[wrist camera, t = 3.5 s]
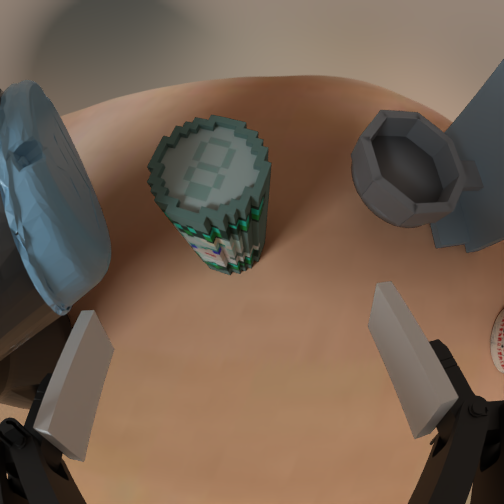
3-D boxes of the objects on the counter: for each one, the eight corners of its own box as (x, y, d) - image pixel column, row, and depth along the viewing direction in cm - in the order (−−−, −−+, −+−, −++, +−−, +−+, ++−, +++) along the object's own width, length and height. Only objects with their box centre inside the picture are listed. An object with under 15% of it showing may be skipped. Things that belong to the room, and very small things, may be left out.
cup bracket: (351, 269, 29) (580, 97, 4) (325, 143, 32) (395, -83, 7) (480, 250, 29) (653, 158, 4) (448, 145, 32) (560, 7, 7)
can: (190, 261, 29) (130, 201, 15) (212, 204, 31) (178, 108, 16) (251, 282, 29) (244, 236, 14) (271, 222, 30) (282, 131, 15)
